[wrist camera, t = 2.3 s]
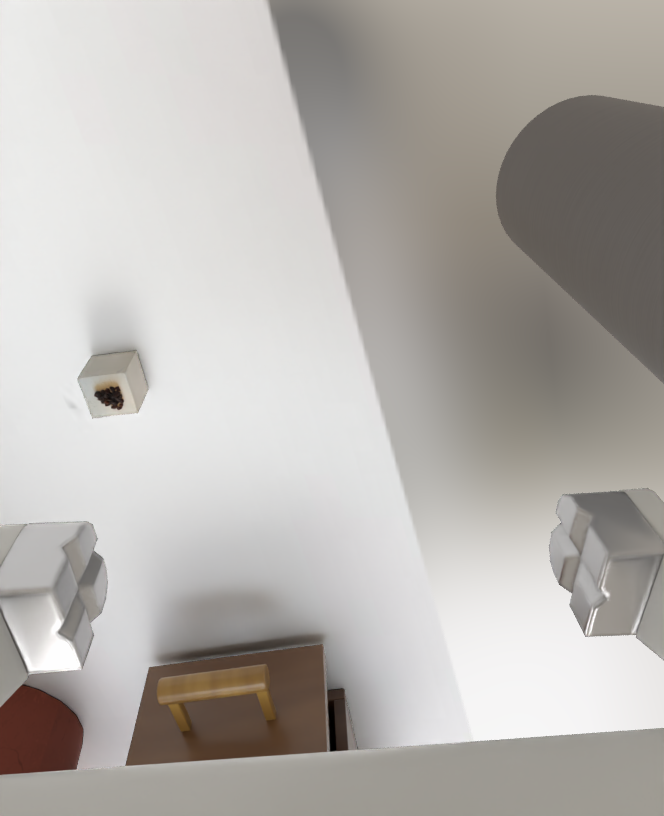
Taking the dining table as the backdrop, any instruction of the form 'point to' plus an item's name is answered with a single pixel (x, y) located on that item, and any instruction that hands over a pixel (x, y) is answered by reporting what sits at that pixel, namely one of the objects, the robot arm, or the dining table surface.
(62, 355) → the dining table surface
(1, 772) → the potted plant
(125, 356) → the cube with dark pebbles
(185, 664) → the drawer
